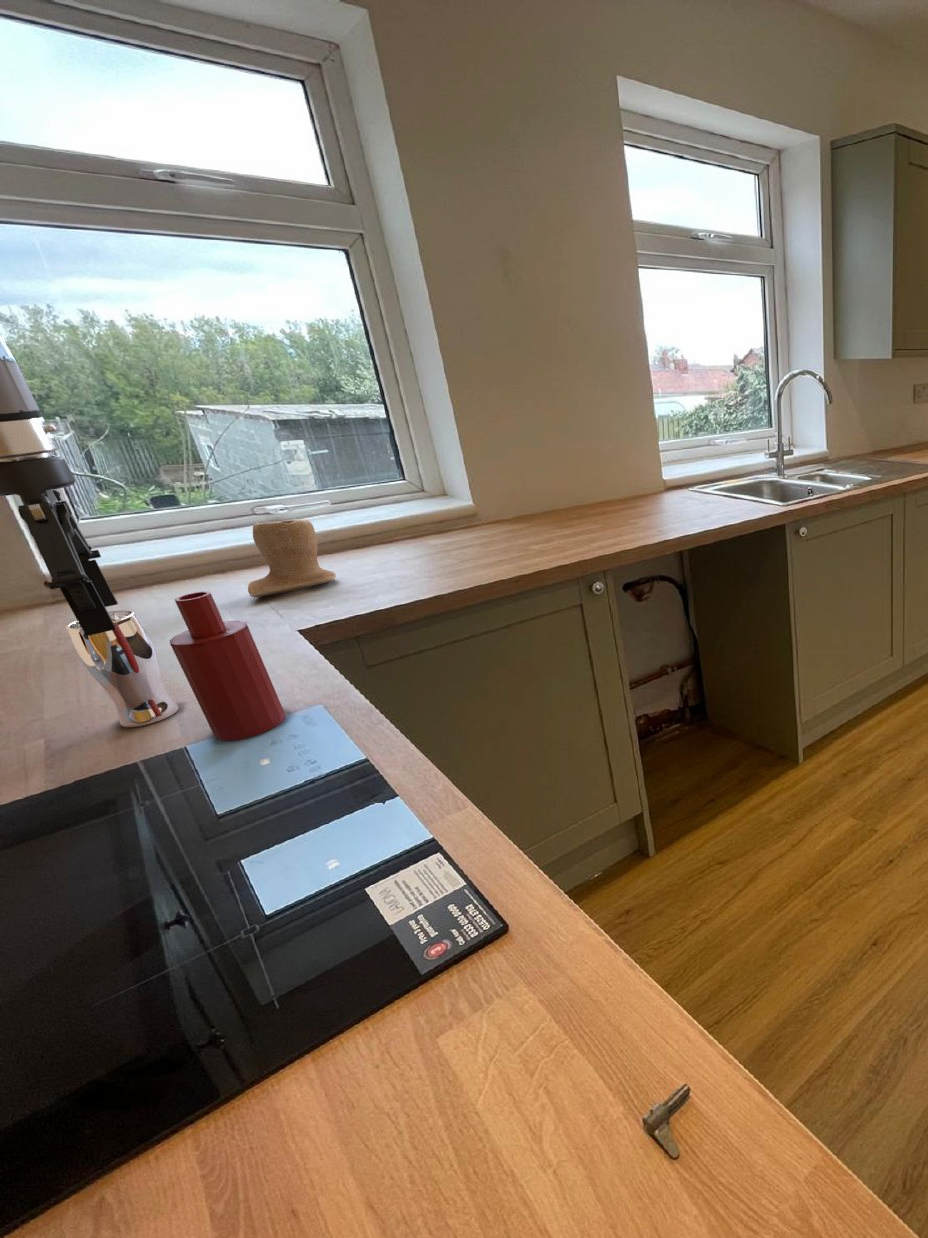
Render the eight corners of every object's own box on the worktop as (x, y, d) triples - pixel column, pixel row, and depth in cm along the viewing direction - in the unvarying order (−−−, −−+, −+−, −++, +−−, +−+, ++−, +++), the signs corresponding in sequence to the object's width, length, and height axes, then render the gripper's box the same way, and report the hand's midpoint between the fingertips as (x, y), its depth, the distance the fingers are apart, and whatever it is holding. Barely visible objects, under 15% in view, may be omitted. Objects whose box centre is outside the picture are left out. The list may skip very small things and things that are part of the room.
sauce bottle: (217, 747, 87) (152, 612, 80) (213, 727, 92) (151, 597, 85) (289, 724, 92) (234, 594, 84) (281, 705, 97) (228, 581, 89)
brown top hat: (333, 573, 156) (310, 509, 150) (340, 585, 147) (316, 518, 141) (250, 590, 147) (222, 523, 141) (253, 604, 138) (223, 533, 133)
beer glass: (135, 709, 98) (86, 614, 92) (193, 700, 100) (148, 606, 94) (104, 733, 92) (49, 633, 86) (166, 723, 94) (116, 624, 88)
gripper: (53, 462, 75) (141, 634, 84) (68, 445, 92) (140, 590, 101) (-50, 474, 71) (55, 654, 79) (-14, 453, 88) (69, 605, 96)
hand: (103, 618), depth 90 cm, fingers open, 13 cm apart
